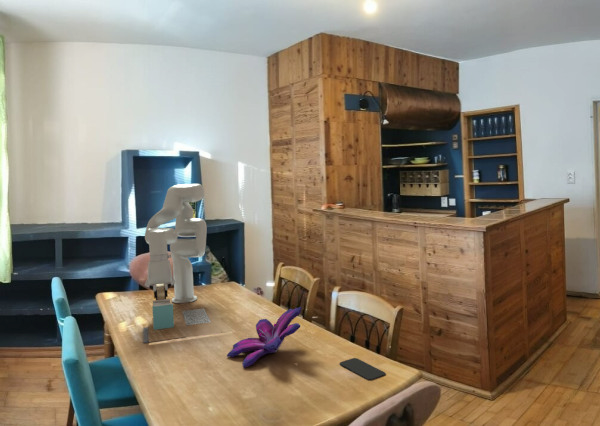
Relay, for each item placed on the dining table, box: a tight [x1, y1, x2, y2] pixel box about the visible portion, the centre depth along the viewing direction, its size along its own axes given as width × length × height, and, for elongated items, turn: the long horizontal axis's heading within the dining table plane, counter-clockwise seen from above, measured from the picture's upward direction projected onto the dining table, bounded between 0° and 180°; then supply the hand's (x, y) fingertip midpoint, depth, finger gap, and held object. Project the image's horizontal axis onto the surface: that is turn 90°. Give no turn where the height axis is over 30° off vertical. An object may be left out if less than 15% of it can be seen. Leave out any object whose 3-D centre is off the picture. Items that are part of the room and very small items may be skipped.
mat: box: [142, 327, 186, 344], centre depth 181 cm, size 18×16×1 cm
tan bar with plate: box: [152, 284, 171, 305], centre depth 198 cm, size 18×7×6 cm, turn 19°
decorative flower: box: [226, 306, 302, 369], centre depth 156 cm, size 31×31×10 cm
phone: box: [339, 357, 387, 381], centre depth 141 cm, size 7×1×15 cm
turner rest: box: [181, 308, 211, 326], centre depth 199 cm, size 22×10×1 cm, turn 19°
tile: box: [151, 302, 175, 330], centre depth 184 cm, size 2×8×10 cm, turn 109°
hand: (160, 298), depth 199 cm, fingers closed on tan bar with plate, 3 cm apart
